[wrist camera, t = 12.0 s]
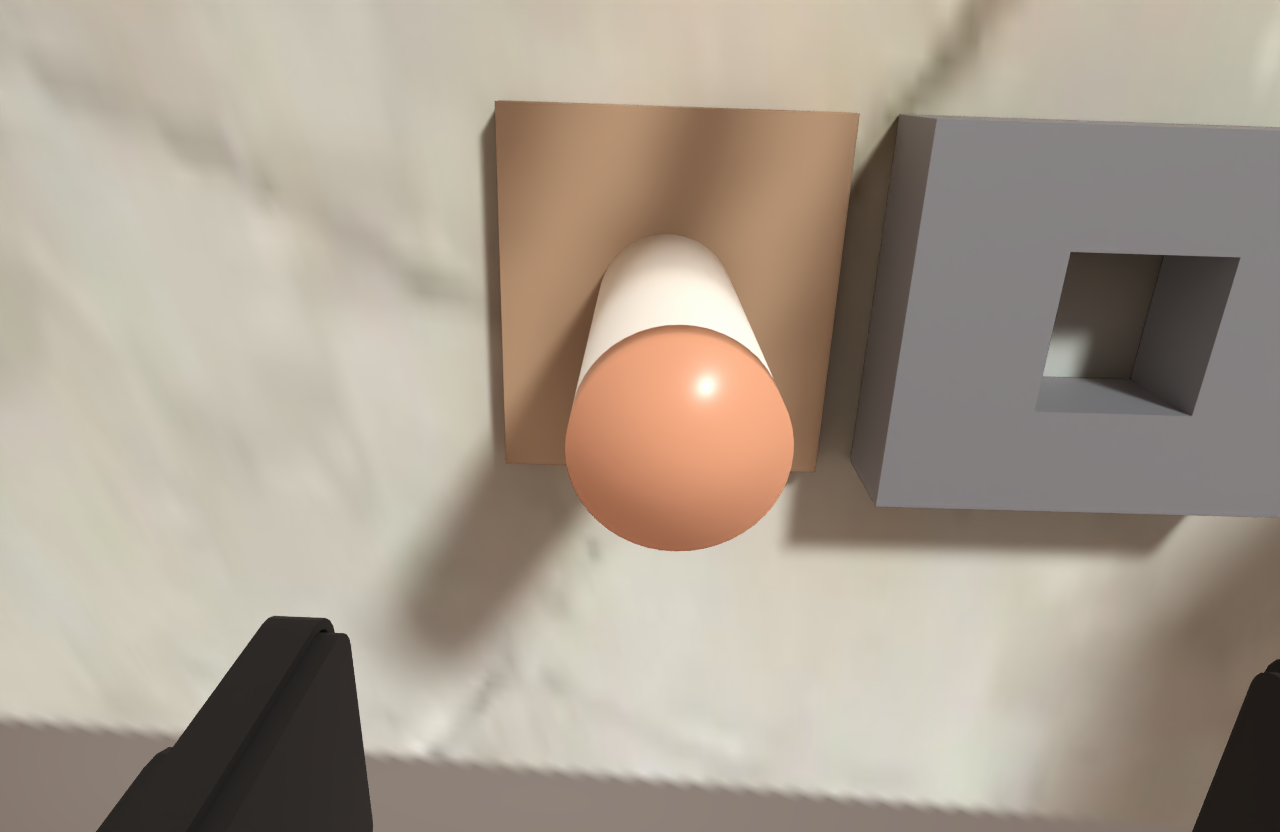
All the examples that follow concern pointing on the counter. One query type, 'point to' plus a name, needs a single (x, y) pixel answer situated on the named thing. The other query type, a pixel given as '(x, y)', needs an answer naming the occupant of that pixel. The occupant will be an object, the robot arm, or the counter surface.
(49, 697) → the counter surface
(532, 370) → the board
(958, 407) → the socket block
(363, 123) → the counter surface
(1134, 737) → the counter surface
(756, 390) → the plug
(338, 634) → the robot arm
